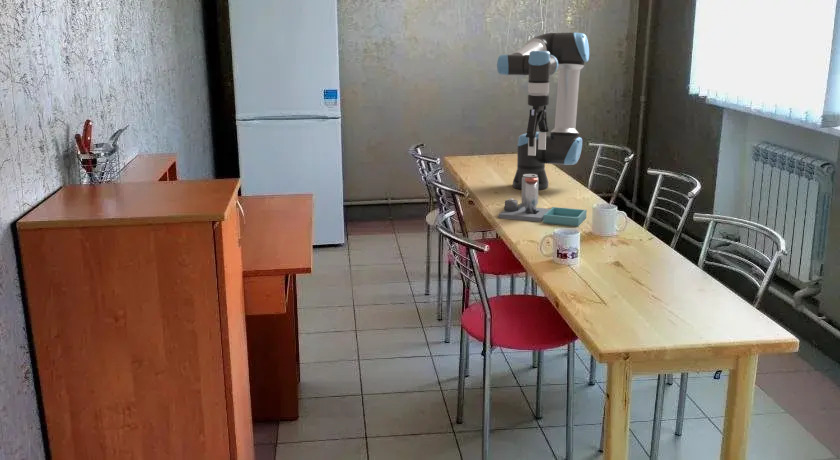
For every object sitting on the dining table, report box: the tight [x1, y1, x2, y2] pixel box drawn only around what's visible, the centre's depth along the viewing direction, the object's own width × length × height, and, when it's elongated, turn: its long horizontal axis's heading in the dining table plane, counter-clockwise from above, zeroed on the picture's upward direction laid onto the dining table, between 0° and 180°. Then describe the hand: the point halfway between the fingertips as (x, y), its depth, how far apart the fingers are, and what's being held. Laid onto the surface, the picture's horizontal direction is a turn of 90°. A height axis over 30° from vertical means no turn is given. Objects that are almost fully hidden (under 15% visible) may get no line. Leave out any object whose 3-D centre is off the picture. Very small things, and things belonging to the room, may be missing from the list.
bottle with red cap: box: [524, 177, 538, 214], centre depth 290 cm, size 5×5×14 cm
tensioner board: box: [498, 198, 551, 223], centre depth 292 cm, size 14×16×6 cm
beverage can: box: [520, 174, 539, 207], centre depth 306 cm, size 6×6×12 cm
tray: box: [542, 206, 588, 227], centre depth 284 cm, size 13×13×3 cm
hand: (536, 152), depth 292 cm, fingers open, 13 cm apart
